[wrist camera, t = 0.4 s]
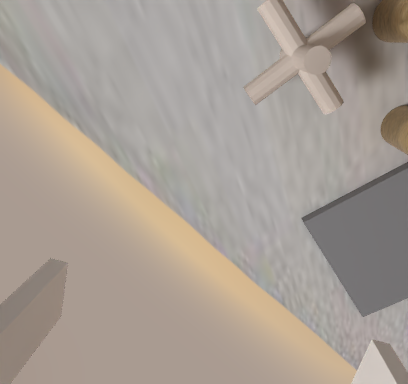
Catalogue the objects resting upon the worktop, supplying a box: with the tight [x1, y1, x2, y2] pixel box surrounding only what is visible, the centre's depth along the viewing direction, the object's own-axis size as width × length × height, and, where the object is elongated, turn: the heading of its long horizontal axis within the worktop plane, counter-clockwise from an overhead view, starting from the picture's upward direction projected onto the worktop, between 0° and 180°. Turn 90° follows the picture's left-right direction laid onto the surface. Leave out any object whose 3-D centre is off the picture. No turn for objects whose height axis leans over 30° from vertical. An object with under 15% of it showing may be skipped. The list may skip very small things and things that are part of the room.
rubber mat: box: [302, 162, 408, 317], centre depth 39 cm, size 16×16×1 cm
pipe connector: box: [243, 0, 366, 114], centre depth 27 cm, size 10×10×10 cm
